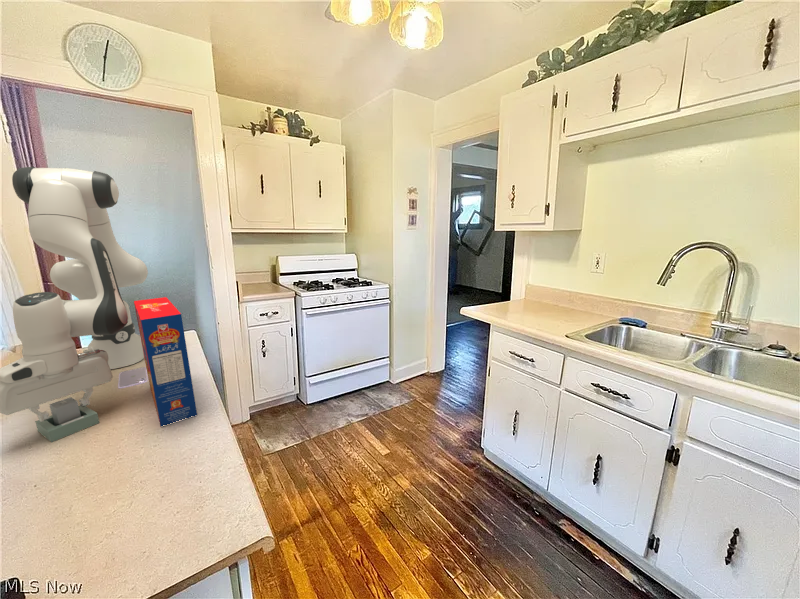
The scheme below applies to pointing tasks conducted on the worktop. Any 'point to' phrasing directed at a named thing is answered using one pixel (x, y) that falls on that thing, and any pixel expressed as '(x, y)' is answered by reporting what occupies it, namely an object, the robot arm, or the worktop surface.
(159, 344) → the pasta box
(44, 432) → the green square tray
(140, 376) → the mobile phone
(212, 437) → the worktop surface
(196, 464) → the worktop surface
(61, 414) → the block
